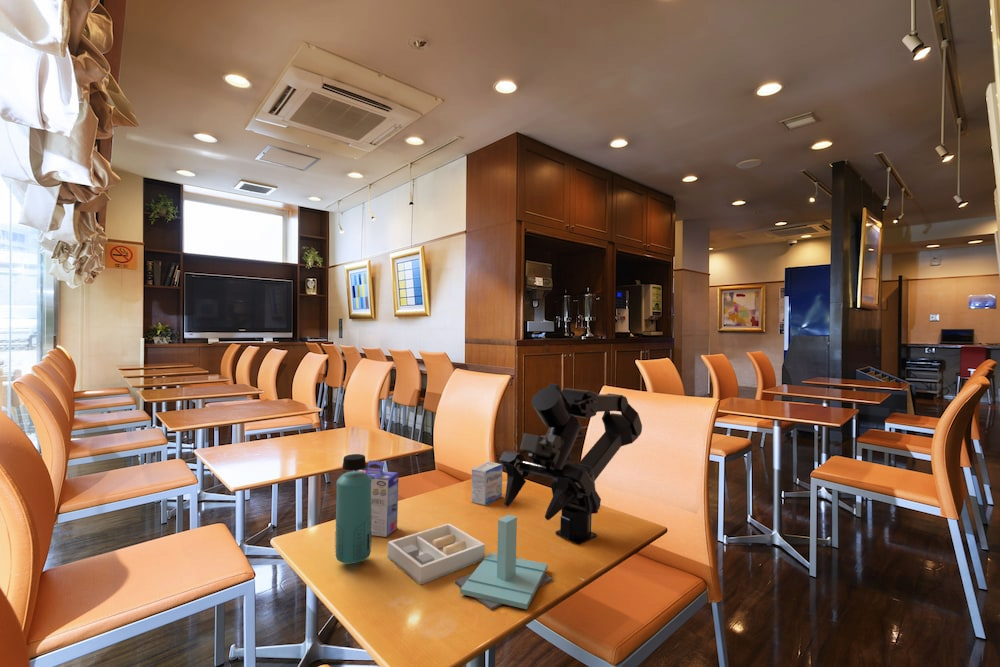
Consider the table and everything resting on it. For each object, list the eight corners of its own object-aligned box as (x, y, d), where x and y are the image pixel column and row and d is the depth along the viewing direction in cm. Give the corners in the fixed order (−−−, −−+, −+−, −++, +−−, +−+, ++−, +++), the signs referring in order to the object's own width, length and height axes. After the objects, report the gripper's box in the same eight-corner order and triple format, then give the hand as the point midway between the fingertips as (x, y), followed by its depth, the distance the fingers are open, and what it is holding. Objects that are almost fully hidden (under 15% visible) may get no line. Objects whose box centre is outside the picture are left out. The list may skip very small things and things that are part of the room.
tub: (448, 537, 98) (449, 523, 98) (484, 559, 88) (484, 544, 88) (387, 557, 88) (387, 541, 88) (420, 584, 79) (420, 567, 79)
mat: (514, 558, 89) (514, 556, 89) (552, 580, 82) (552, 577, 82) (454, 582, 80) (454, 580, 80) (491, 610, 73) (491, 607, 73)
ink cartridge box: (398, 527, 102) (400, 461, 102) (387, 538, 97) (389, 468, 96) (357, 522, 104) (358, 457, 104) (344, 533, 99) (345, 464, 98)
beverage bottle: (371, 569, 84) (374, 459, 84) (332, 574, 82) (335, 461, 82) (371, 552, 90) (373, 450, 90) (334, 556, 88) (337, 451, 88)
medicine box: (485, 506, 115) (485, 471, 115) (470, 502, 118) (471, 468, 118) (502, 497, 122) (503, 464, 122) (488, 493, 124) (489, 461, 124)
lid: (489, 556, 89) (490, 500, 89) (547, 568, 85) (548, 509, 85) (460, 593, 76) (461, 528, 76) (526, 609, 73) (528, 540, 72)
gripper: (505, 410, 95) (467, 478, 87) (586, 423, 83) (551, 502, 75) (527, 442, 101) (494, 507, 93) (606, 458, 89) (576, 534, 81)
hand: (525, 512), depth 85 cm, fingers open, 9 cm apart
